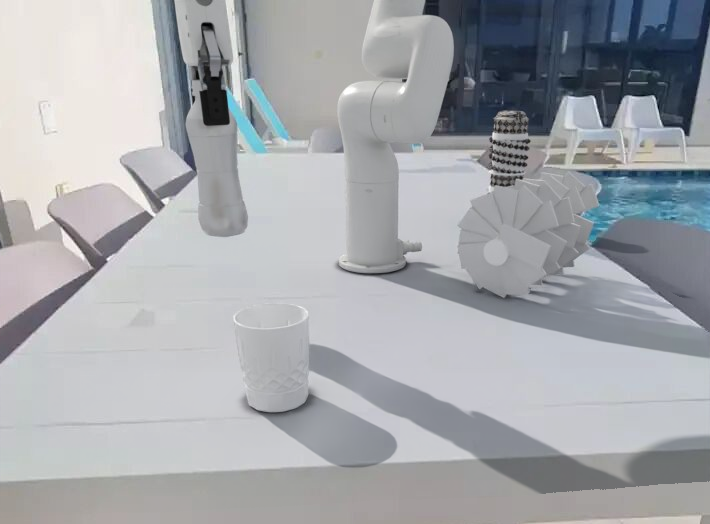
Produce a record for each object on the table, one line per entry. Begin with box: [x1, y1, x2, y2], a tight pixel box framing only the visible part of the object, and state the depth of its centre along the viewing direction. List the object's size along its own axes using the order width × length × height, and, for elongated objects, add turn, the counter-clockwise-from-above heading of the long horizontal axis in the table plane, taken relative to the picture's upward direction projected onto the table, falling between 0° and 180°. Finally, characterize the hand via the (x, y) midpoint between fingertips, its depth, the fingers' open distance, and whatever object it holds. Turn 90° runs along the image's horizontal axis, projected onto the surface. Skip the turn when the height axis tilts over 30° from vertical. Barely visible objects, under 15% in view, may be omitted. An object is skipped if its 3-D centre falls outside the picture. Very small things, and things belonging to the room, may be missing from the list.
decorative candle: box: [487, 110, 531, 194], centre depth 147 cm, size 9×9×25 cm
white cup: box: [232, 302, 310, 413], centre depth 69 cm, size 8×8×10 cm
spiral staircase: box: [457, 170, 601, 299], centre depth 107 cm, size 18×18×25 cm
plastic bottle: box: [185, 80, 249, 238], centre depth 85 cm, size 6×7×20 cm
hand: (211, 121), depth 83 cm, fingers closed on plastic bottle, 6 cm apart
